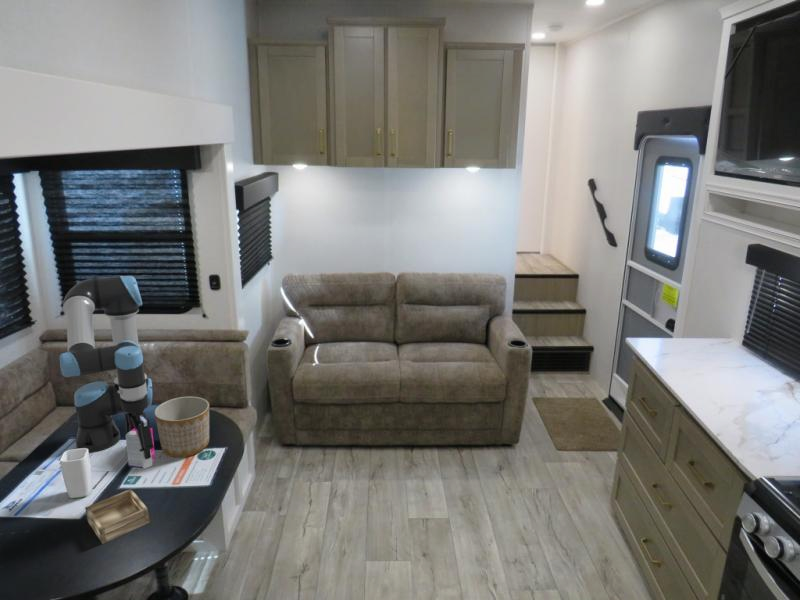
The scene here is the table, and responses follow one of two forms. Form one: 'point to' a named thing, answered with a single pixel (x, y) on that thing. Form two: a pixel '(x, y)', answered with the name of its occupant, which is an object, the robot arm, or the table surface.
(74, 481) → the cup
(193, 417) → the planter
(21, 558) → the table surface
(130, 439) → the supplement box
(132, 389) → the robot arm
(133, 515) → the crate
